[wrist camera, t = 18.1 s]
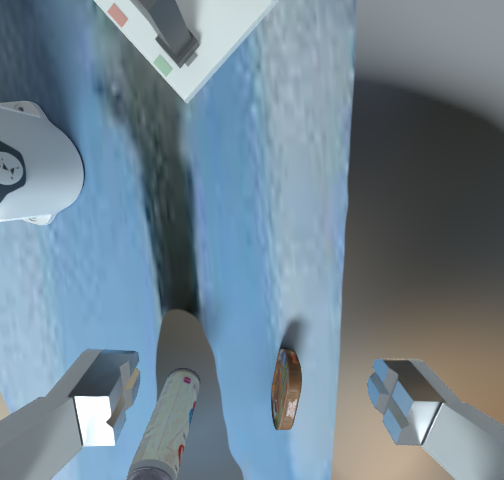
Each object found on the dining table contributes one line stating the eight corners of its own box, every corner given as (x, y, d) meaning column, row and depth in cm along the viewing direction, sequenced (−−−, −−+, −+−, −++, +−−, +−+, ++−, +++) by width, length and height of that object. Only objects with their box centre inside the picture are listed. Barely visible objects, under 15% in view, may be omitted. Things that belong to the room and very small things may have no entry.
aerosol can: (192, 399, 50) (153, 540, 30) (162, 386, 49) (103, 523, 29) (205, 376, 48) (175, 508, 29) (175, 363, 47) (122, 490, 28)
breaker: (199, 45, 32) (176, -15, 22) (180, 68, 32) (148, 20, 23) (178, 19, 31) (143, -55, 21) (158, 44, 32) (116, -17, 22)
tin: (281, 338, 46) (287, 373, 38) (296, 340, 46) (306, 375, 38) (269, 398, 50) (272, 441, 42) (283, 400, 50) (289, 443, 42)
